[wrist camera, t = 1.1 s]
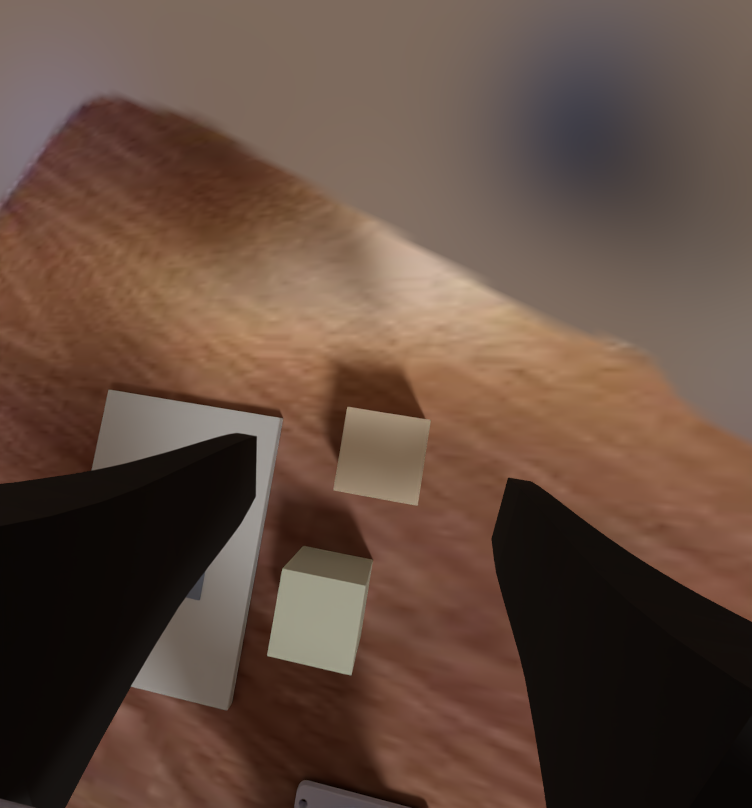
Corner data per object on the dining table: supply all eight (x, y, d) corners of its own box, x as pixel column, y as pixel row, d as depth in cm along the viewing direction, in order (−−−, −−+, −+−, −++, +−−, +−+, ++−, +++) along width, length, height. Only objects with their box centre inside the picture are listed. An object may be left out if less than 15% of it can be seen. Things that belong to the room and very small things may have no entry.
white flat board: (231, 703, 23) (226, 712, 22) (59, 660, 24) (48, 667, 23) (283, 418, 24) (279, 418, 23) (115, 390, 25) (107, 389, 24)
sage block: (361, 632, 23) (351, 675, 19) (291, 617, 23) (267, 655, 19) (373, 559, 23) (365, 585, 19) (303, 545, 23) (282, 568, 19)
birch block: (415, 493, 23) (417, 505, 19) (346, 480, 23) (333, 490, 19) (426, 422, 23) (430, 419, 19) (357, 411, 24) (347, 406, 20)
